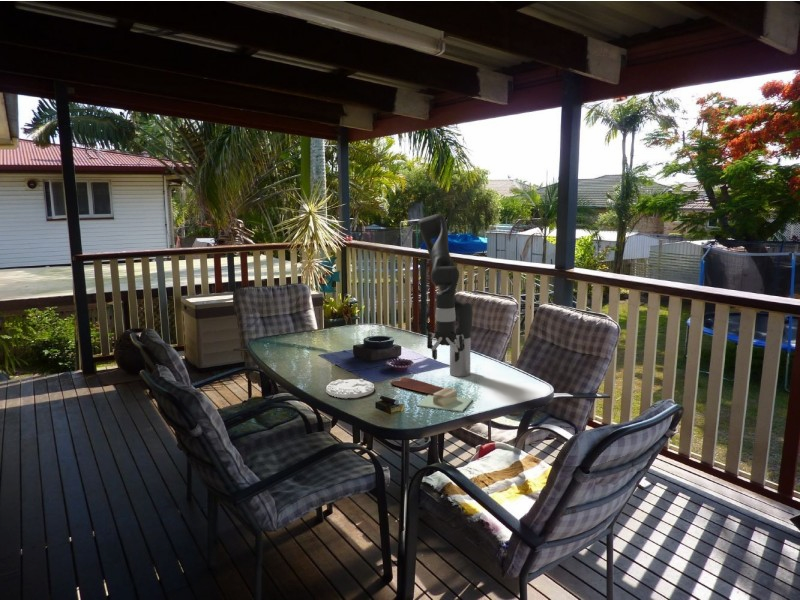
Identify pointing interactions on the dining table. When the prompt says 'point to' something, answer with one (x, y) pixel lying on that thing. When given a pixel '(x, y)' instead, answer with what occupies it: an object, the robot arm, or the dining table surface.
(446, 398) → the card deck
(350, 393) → the embossed medallion
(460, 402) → the mat
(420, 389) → the wooden tablet
